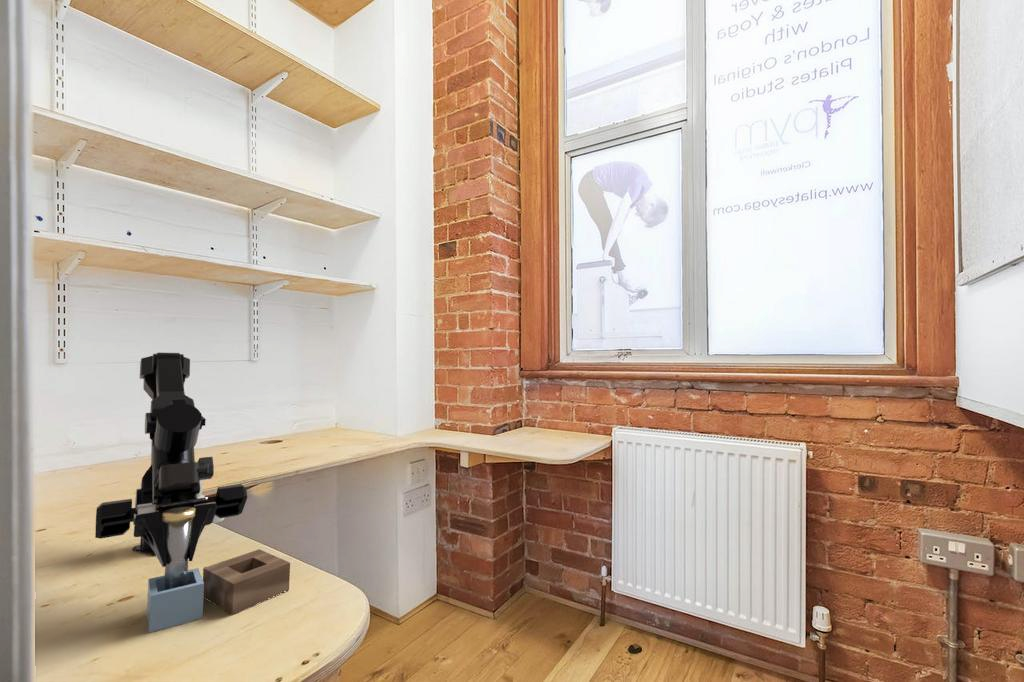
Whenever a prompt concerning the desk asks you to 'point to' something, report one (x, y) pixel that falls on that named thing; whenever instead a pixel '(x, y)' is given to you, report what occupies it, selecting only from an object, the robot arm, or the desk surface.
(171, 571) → the pin
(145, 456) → the desk surface
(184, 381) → the robot arm
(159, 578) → the holder
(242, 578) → the hitch block
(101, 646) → the desk surface
